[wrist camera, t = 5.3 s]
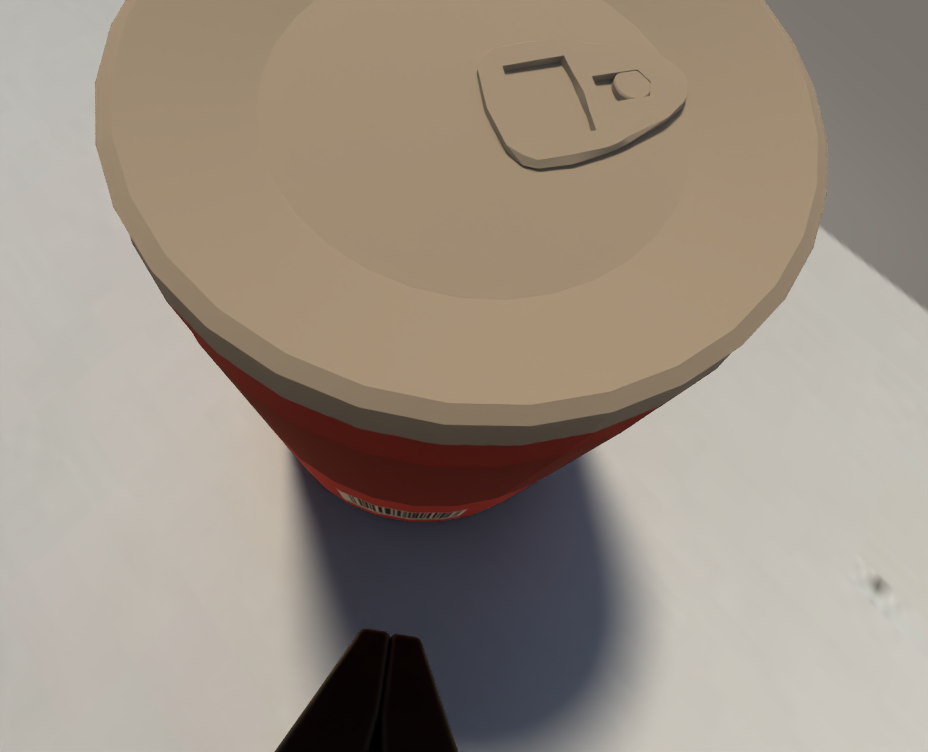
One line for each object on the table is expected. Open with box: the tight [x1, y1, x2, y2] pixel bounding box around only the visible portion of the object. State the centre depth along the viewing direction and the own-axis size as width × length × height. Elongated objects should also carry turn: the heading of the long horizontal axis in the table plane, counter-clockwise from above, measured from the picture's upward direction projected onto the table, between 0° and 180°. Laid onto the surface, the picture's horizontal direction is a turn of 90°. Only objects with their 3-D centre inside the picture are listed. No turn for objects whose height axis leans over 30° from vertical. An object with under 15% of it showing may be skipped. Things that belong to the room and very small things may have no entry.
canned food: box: [95, 0, 827, 522], centre depth 11 cm, size 8×8×11 cm
